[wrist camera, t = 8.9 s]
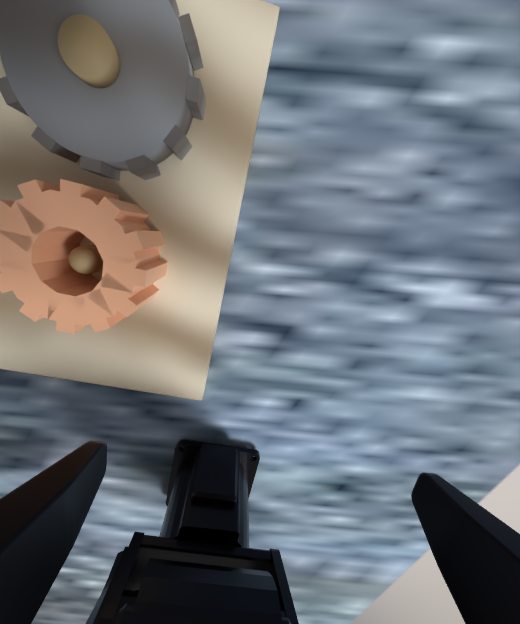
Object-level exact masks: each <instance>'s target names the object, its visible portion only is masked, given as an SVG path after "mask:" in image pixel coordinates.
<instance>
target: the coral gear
mask: <svg viewBox="0 0 520 624" xmlns="http://www.w3.org/2000/svg"><path fill="white" fill-rule="evenodd" d="M17 186H18V188H19V190H20V192H21V194H22V196H23V198H22V199H19V200H16V201H11V200H3V199H0V222H1V223H0V270H1V272H2V274H0V291H1V292H2V293H5V292H9V291H13V292H14V294H15V295H16V297H17V298H18V299H19V300H21V301H22V302H24V305H23V306H22V307H21V309H20V310H19V311H20V312H21V313H23V314H24V315H26V316H27V317H29V318H30V319H32V320H33V321H34V322H36V321H38V320H40V319H42V318H47V319H49V320H54V321H57V322H56V331H61V332H66V333H72V334H75V333H76V332H78V331H80V330H81V329H83V328H84V327H86V326H88V325H89V324H91V326H92V328H93V330H94V332H95V333H96V332H99V331H102V330H106V329H109V328H111V327H113V326H114V325H115V324H117V323H118V322H119V321H121V320H122V319H124V318H125V317H128V316H129V315H131V314H132V313H134V312H135V311H136V310H138V309H139V308H140V307H142V306H143V305H144V304H146V303H147V302H148V301H150V300H151V299H152V298H153V297H154V296H155V295H156V293H157V292H158V291H159V289H158V288H157V287H155V286H154V285H153V283H154V282H155V281H157V280H159V279H160V278H162V277H164V276H166V272H167V264H168V262H165V261H160V260H159V257H160V253H159V250H158V248H157V247H160V246H164V245H165V242H164V240H163V237H162V235H161V232H160V231H150V228H149V227H148V226H147V225H146V224H145V223H144V221H145V220H146V218H147V217H148V216H149V215H148V214H147V213H146V212H145V211H143V210H142V209H141V208H140V207H139V206H138V205H136V204H132V203H128V202H124V201H121V200H119V195H116V194H113V193H110V192H106V191H103V190H100V189H96V188H93V187H89V186H86V185H83V184H79V183H75V182H71V181H67V180H63V179H60V186H59V185H55V184H51V183H48V182H44V181H40V180H36V179H35V180H32V181H29V182H26V183H23V184H20V185H17ZM85 236H86V237H87V238H88V239H90V240H91V241H92V242H93V243H95V245H96V247H97V249H98V251H99V253H100V255H101V258H102V260H103V272H102V279H101V280H98V279H97V278H96V277H94V276H93V275H92V274H82V273H79V272H77V271H75V270H74V269H73V268H72V267H71V265H70V263H69V254H70V252H71V251H72V250H73V249H74V248H76V247H79V246H80V242H81V241H82V239H83V238H84V237H85Z"/></svg>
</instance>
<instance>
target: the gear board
mask: <svg viewBox="0 0 520 624" xmlns="http://www.w3.org/2000/svg"><path fill="white" fill-rule="evenodd" d="M279 8H280V7H279V6H276V5H273V4H270V3H267V2H264V1H262V0H0V199H3V200H11V201H16V200H19V199H22V198H23V196H22V194H21V192H20V190H19V188H18V186H17V185H20V184H23V183H26V182H29V181H32V180H35V179H36V180H40V181H44V182H48V183H51V184H55V185H59V186H60V179H63V180H67V181H71V182H75V183H79V184H83V185H86V186H89V187H93V188H96V189H100V190H103V191H106V192H110V193H113V194H116V195H119V200H121V201H124V202H128V203H132V204H136V205H138V206H139V207H140V208H141V209H142V210H143V211H145V212H146V213H147V214H148V215H149V216H148V217H147V218H146V220H145V221H144V223H145V224H146V225H147V226H148V227H149V228H150V231H160V232H161V235H162V237H163V240H164V242H165V245H164V246H160V247H157V248H158V250H159V253H160V257H159V260H160V261H165V262H168V264H167V272H166V276H164V277H162V278H160V279H159V280H157V281H155V282H154V283H153V285H154V286H155V287H157V288H158V289H159V291H158V292H157V293H156V295H155V296H154V297H153V298H152V299H151V300H150V301H148V302H147V303H146V304H144V305H143V306H142V307H140V308H139V309H138V310H136V311H135V312H134V313H132V314H131V315H129V316H128V317H125V318H124V319H122V320H121V321H119V322H118V323H117V324H115V325H114V326H113V327H111V328H109V329H106V330H102V331H99V332H96V333H95V332H94V330H93V328H92V326H91V324H89V325H88V326H86V327H84V328H83V329H81V330H80V331H78V332H76V333H75V334H72V333H66V332H61V331H56V322H57V321H54V320H49V319H47V318H42V319H40V320H38V321H36V322H34V321H33V320H32V319H30V318H29V317H27V316H26V315H24V314H23V313H21V312H20V311H19V310H20V309H21V307H22V306H23V305H24V302H22V301H21V300H19V299H18V298H17V297H16V295H15V294H14V292H13V291H9V292H5V293H2V292H1V291H0V369H5V370H11V371H17V372H24V373H30V374H36V375H42V376H49V377H55V378H61V379H68V380H74V381H80V382H87V383H93V384H99V385H105V386H112V387H118V388H124V389H131V390H137V391H143V392H149V393H156V394H162V395H168V396H175V397H181V398H187V399H193V400H200V401H202V398H203V394H204V390H205V385H206V380H207V375H208V370H209V364H210V359H211V354H212V349H213V344H214V339H215V334H216V329H217V324H218V319H219V314H220V309H221V304H222V299H223V294H224V289H225V284H226V279H227V274H228V269H229V264H230V259H231V253H232V248H233V243H234V238H235V233H236V228H237V223H238V218H239V213H240V208H241V203H242V198H243V193H244V188H245V183H246V178H247V173H248V168H249V163H250V158H251V153H252V147H253V142H254V137H255V132H256V127H257V122H258V117H259V112H260V107H261V102H262V97H263V92H264V87H265V82H266V77H267V72H268V67H269V62H270V57H271V52H272V47H273V42H274V36H275V31H276V26H277V20H278V14H279ZM0 223H1V222H0ZM69 263H70V265H71V267H72V268H73V269H74V270H75V271H77V272H79V273H82V274H92V275H93V276H94V277H96V278H97V279H98V280H101V279H102V272H103V260H102V258H101V255H100V253H99V251H98V249H97V247H96V245H95V243H93V242H92V241H91V240H90V239H88V238H87V237H86V236H85V237H84V238H83V239H82V241H81V242H80V246H79V247H76V248H74V249H73V250H72V251H71V252H70V254H69ZM0 274H2V272H1V270H0Z"/></svg>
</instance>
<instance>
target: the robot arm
mask: <svg viewBox="0 0 520 624" xmlns="http://www.w3.org/2000/svg"><path fill="white" fill-rule="evenodd" d="M181 446H183V447H185V448H182V447H181ZM252 456H255V457H252ZM259 460H260V456H259V452H258V451H257V450H254V449H247V448H240V447H233V446H226V445H219V444H211V443H204V442H197V441H190V440H180V441H178V443H177V445H176V448H175V454H174V460H173V465H172V471H171V477H170V482H169V488H168V494H167V499H166V505H167V506H168V507H167V511H166V514H165V518H164V522H163V525H162V529H161V532H160V536H159V537H157V536H149V535H144V533H141V532H135V533H134V535H133V538H132V540H131V542H130V545H129V547H125V549H124V551H122V552H120V553H118V554H117V557H116V559H115V562H114V564H113V567H112V570H111V572H110V575H109V577H108V580H107V582H106V585H105V587H104V589H103V591H102V593H101V596H100V597H99V599H98V601H97V603H96V605H95V607H94V609H93V611H92V613H91V615H90V617H89V618H88V620H87V622H86V624H299V623H298V619H297V616H296V612H295V608H294V604H293V600H292V597H291V593H290V589H289V585H288V582H287V578H286V574H285V570H284V567H283V563H282V559H281V555H280V551H279V550H277V549H270V550H261V549H253V548H249V515H248V498H249V495H250V491H251V488H252V484H253V481H254V477H255V474H256V470H257V467H258V463H259ZM106 463H107V445H106V443H105V442H99V441H89V442H87V443H85V444H84V445H82V446H81V447H79V448H77V449H76V450H74V451H73V452H71V453H70V454H68V455H67V456H65V457H64V458H62V459H61V460H59V461H58V462H56V463H55V464H53V465H51V466H50V467H48V468H47V469H45V470H44V471H42V472H41V473H39V474H38V475H36V476H35V477H33V478H32V479H30V480H29V481H27V482H25V483H24V484H22V485H21V486H19V487H18V488H16V489H15V490H13V491H12V492H10V493H9V494H7V495H6V496H4V497H3V498H1V499H0V624H31V623H32V621H33V619H34V617H35V615H36V614H37V612H38V610H39V608H40V606H41V604H42V603H43V601H44V599H45V597H46V595H47V593H48V592H49V590H50V588H51V586H52V584H53V582H54V581H55V579H56V577H57V575H58V573H59V571H60V570H61V568H62V566H63V564H64V562H65V560H66V559H67V557H68V555H69V553H70V551H71V549H72V547H73V545H74V543H75V541H76V539H77V536H78V534H79V532H80V530H81V527H82V525H83V523H84V521H85V518H86V516H87V514H88V511H89V509H90V507H91V505H92V502H93V500H94V498H95V496H96V493H97V491H98V489H99V486H100V484H101V482H102V480H103V477H104V475H105V471H106ZM411 496H412V502H413V505H414V507H415V510H416V512H417V515H418V517H419V520H420V522H421V525H422V528H423V530H424V533H425V535H426V538H427V540H428V543H429V545H430V548H431V550H432V553H433V555H434V557H435V560H436V562H437V565H438V567H439V569H440V571H441V573H442V576H443V578H444V580H445V582H446V584H447V586H448V588H449V590H450V592H451V594H452V597H453V599H454V601H455V603H456V605H457V607H458V609H459V611H460V613H461V615H462V617H463V619H464V622H465V624H520V534H519V533H517V532H516V531H515V530H513V529H512V528H511V527H509V526H508V525H506V524H505V523H504V522H502V521H501V520H499V519H498V518H497V517H495V516H494V515H492V514H491V513H490V512H488V511H487V510H486V509H484V508H483V507H481V506H480V505H479V504H477V503H476V502H474V501H473V500H472V499H470V498H469V497H468V496H466V495H465V494H463V493H462V492H461V491H459V490H458V489H456V488H455V487H454V486H452V485H451V484H450V483H448V482H447V481H445V480H444V479H443V478H441V477H440V476H438V475H437V474H434V473H421V474H420V475H419V477H418V479H417V481H416V484H415V486H414V488H413V491H412V495H411Z"/></svg>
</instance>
